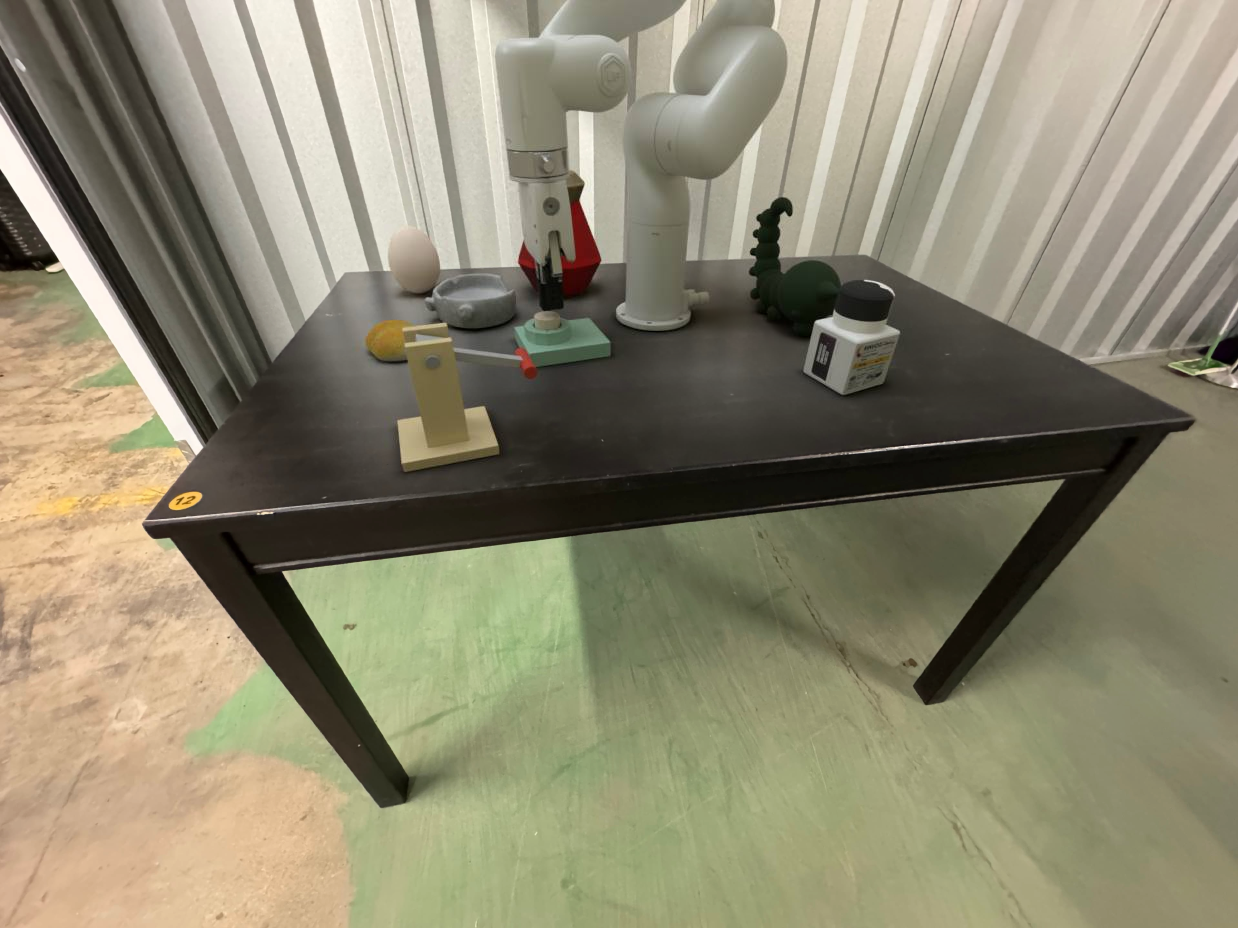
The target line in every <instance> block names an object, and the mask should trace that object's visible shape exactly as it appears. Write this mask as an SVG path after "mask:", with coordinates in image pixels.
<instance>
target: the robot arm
mask: <svg viewBox="0 0 1238 928" xmlns="http://www.w3.org/2000/svg"><path fill="white" fill-rule="evenodd" d="M686 2H687V0H566V1H565V2H564V3H563V5H561V6H560V8H559V9H558V11H557V12H556V13H555V14H554V16H553V17H552V18H551V19H550V20H549V22H548V23H547V25H546V26H545V27H544V29H543V31H541V33H540V35H539V36H538V37H513V38H506V39H502V40H500V41H499V42H498V44H497V45H496V47H495V52H494V60H495V61H494V63H495V70H496V78H497V87H498V96H499V103H500V113H501V119H502V120H501V121H502V127H503V137H504V145H505V152H506V161H507V168H508V179H509V180H510V181H512V182H516V183H517V186H518V187H517V188H518V189H517V192H518V199H519V210H520V221H521V230H522V236H523V240H524V242H525V246H526V248H527V250H528V252H529V253H530V254H531V255H532V257H533V258H534V260H535V267H536V274H537V278H538V279H541V280H537V287H538V294H537V295H538V304H539V307H540V309H541V310H542V312H543V311H555V310H562V309H564V307H565V303H564V298H563V288H562V276H563V272H562V265H561V254H562V255H563V256H564V257H565V258H566V259H567V261H569V262H570V263H572V262H574V260H575V247H574V237H573V227H572V218H571V209H570V202H569V196H568V190H567V185H566V180H565V179H568V178H569V177H570V170H571V169H570V154H569V138H568V137H569V136H568V121H567V113H568V112H570V111H573V112H574V111H575V112H576V111H577V112H584V113H585V112H587V113H597V114H598V113H605V112H608V111H611V110H613V109H614V108H616V107H618V105H620V104H621V103H622V102H623V101H624V99H625V98H626V96H627V95H628V92H629V91H630V88H631V84H632V76H633V75H632V67H631V66H632V65H631V61H630V58H629V56H628V54H627V52H626V50H625V49H624V48H623V46H621V45H620V42H621V41H623V40H625V39H627V38H628V37H631V36H633V35H635V34H638V33H641V32H643V31H646V30H648V29H651V28H653V27H655V26H656V25H659V24H661V23H662V22H664V21H666V20H668V19H669V18H671V17H672V16H674V15H676V14H677V13H678V12H679V11H680V10H681V8H682V7H683V6H684V4H685V3H686ZM775 2H776V1H775V0H716V1H715V3H714V4H713V6H712V7H711V9H710V10H709V11H708V13H707V15H706V16H705V17H704V19H702V22H701V23H700V25H699V26H698V27H697V28H696V30H695V32H694V33H693V34H692V36H691V37H690V38H689V40H688V41H687V43H686V44H685V46H684V47H683V49H682V50H681V52H680V54H679V56H678V57H677V60H676V63H675V65H674V68H673V74H672V83H673V89H674V91H675V92H665V91H663V92H651V93H647V94H645V95H642V96H641V97H639V98H638V99H636V100H635V101H634V102H633V103H632V104H631V106H630V107H629V109H628V110H627V112H626V114H625V116H624V119H623V123H622V132H621V134H622V135H621V141H622V150H623V157H624V163H625V171H626V183H627V217H626V226H627V227H626V258H625V259H626V262H625V298H624V299H625V300H624V302H621V304H619V305H618V306H616V309H615V317H616V319H617V321H618V322H620V323H621V324H622V325H624V326H626V327H629V328H632V329H636V330H641V331H647V332H649V331H651V332H662V331H671V330H676V329H679V328H682V327H685V326H686V325H687V324H688V323H689V322H690V321H691V315H692V314H691V313H692V312H691V310H690V309H689V308H691V307H693V305H703V304H708V303H709V301H710V294H709V292H708V291H699V292H696V290H695V289H694V288H692V289H685V288H684V287H685V275H686V266H687V255H688V254H687V253H688V243H689V242H688V241H689V232H690V231H689V230H690V220H691V208H692V207H691V196H690V195H691V194H690V191H689V186H688V182H687V178H688V179H689V178H690V179H693V180H694V179H695V180H701V181H709V180H714V179H717V178H719V177H720V176H722V175H724V174H725V173H726V172H727V171H728V170H730V168H731V167H732V166H733V165H734V163H735V162H736V161H737V159H738V158H739V157H740V155H741V154H742V152H743V151H744V149H745V148H746V147H747V146H748V145H749V142H750V141H751V140H752V138H753V137H754V135H755V134H756V133H757V132H758V130H759V129H760V127H761V126H762V124H763V123H764V121H765V120H766V118H767V117H768V115H770V113H771V112H772V110H773V108H774V107H775V105H776V103H777V101H778V99H779V97H780V95H781V93H782V90H783V88H784V85H785V81H786V77H787V73H788V72H787V71H788V62H789V61H788V60H789V59H788V58H789V57H788V50H787V46H786V43H785V41H784V39H783V37H782V36H781V34H779V32H778V31H777V30H776V29H773V25H774V23H775V17H776V4H775Z"/></svg>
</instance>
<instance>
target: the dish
mask: <svg viewBox="0 0 1238 928" xmlns="http://www.w3.org/2000/svg"><path fill="white" fill-rule="evenodd" d="M424 304H425V308H426V309H427V310H429V312H436V315H437V317H438V318H439V320H440V321H441V322H442V323H447V325H449V326H453V327H457V328H463V329H483V328H489V327H495V326H499V325H501V324H503V323H506V322H508V321H509V320H511V319H512V318H513V317H514V315H515V313H516V308H517V294H516V291H515V290H514V289H511V290H510V291H509V289H508V288H507V286H506V284H505V282H504V280H503V278H502V276H501V275H498V274H494V273H468V274H459V275H457V276H455V277H450V278H447V279H445V280H443V281H441V282H440V283H439V284H438V285H436V286H435V288H433V290H432V295H431V297H425V298H424Z"/></svg>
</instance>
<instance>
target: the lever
mask: <svg viewBox="0 0 1238 928" xmlns="http://www.w3.org/2000/svg"><path fill="white" fill-rule="evenodd" d="M434 339H442V338H441V337H434V336H427V335H420V334H416V336H415V342H418V341H426V340H434ZM453 348H454V354H455V359H456V362H465V363H472V364H480V365H489V366H496V367H505V368H514V369H520V370H521V371H522V373H523V375H524V377H525V378H526V379H529V380H532V379H535V378H536V377H537V375H538V369H537V367H535V365H534V364H533V362H532V360H531V358H530V357H529V355H528V353H527V351H526V350H525V349H524V348H519V347H518V348H517V349H516V350H515V351H514V354H506V353H499V352H491V351H483V350H476V349H469V348H461V347H454V346H453Z"/></svg>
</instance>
